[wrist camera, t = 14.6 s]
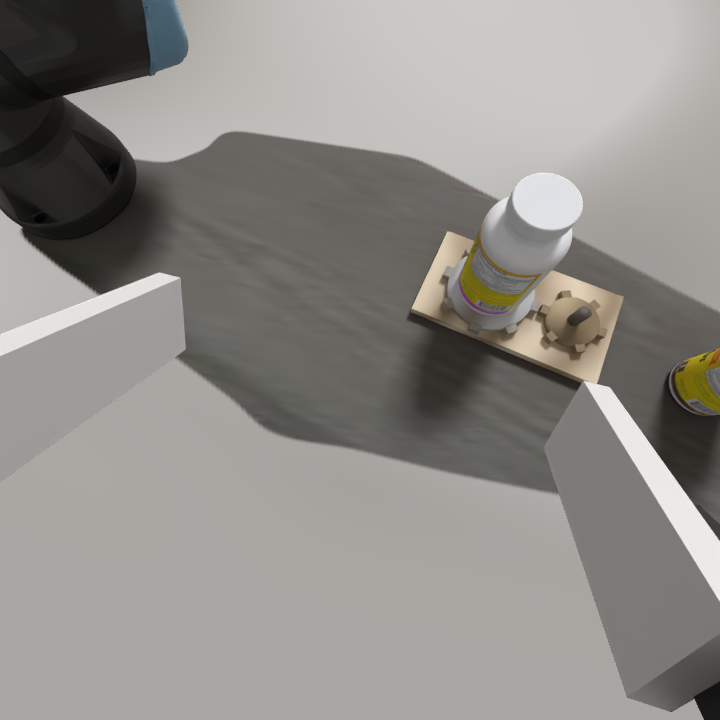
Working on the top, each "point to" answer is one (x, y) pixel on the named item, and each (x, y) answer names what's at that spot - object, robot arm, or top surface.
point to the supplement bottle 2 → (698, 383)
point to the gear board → (527, 316)
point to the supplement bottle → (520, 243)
